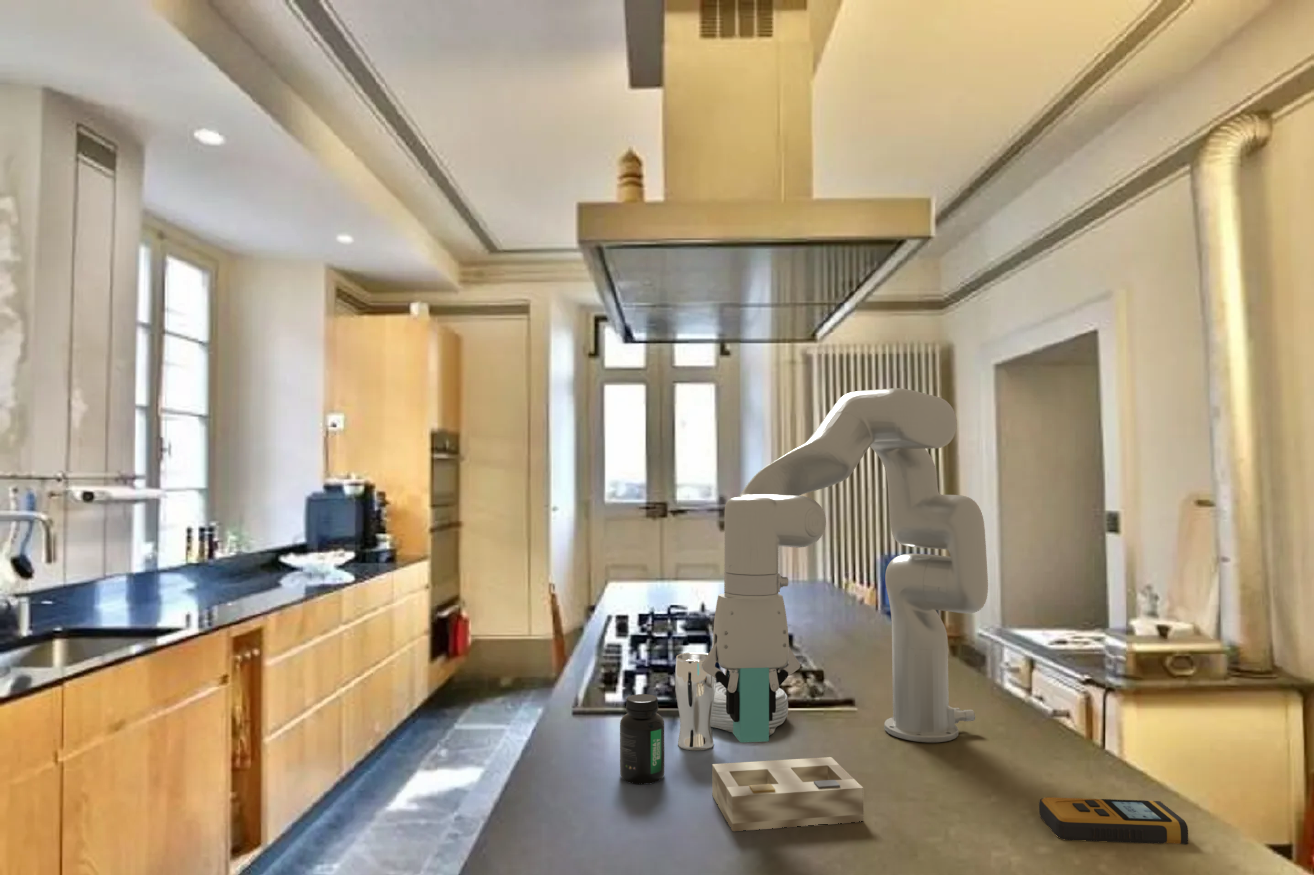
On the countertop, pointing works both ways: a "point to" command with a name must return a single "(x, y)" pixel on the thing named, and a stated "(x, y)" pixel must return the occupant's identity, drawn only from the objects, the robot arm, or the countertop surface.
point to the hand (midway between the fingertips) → (750, 717)
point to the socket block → (786, 793)
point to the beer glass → (694, 701)
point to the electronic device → (1113, 820)
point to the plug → (753, 705)
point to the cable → (726, 723)
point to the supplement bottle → (642, 741)
